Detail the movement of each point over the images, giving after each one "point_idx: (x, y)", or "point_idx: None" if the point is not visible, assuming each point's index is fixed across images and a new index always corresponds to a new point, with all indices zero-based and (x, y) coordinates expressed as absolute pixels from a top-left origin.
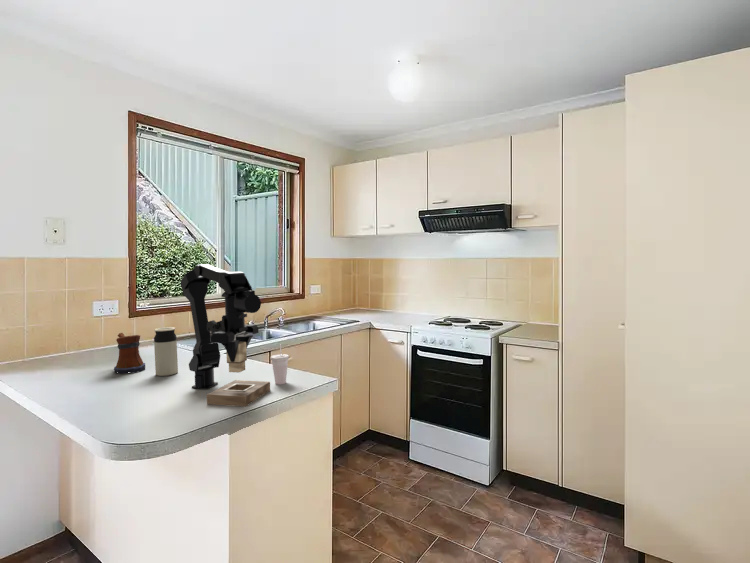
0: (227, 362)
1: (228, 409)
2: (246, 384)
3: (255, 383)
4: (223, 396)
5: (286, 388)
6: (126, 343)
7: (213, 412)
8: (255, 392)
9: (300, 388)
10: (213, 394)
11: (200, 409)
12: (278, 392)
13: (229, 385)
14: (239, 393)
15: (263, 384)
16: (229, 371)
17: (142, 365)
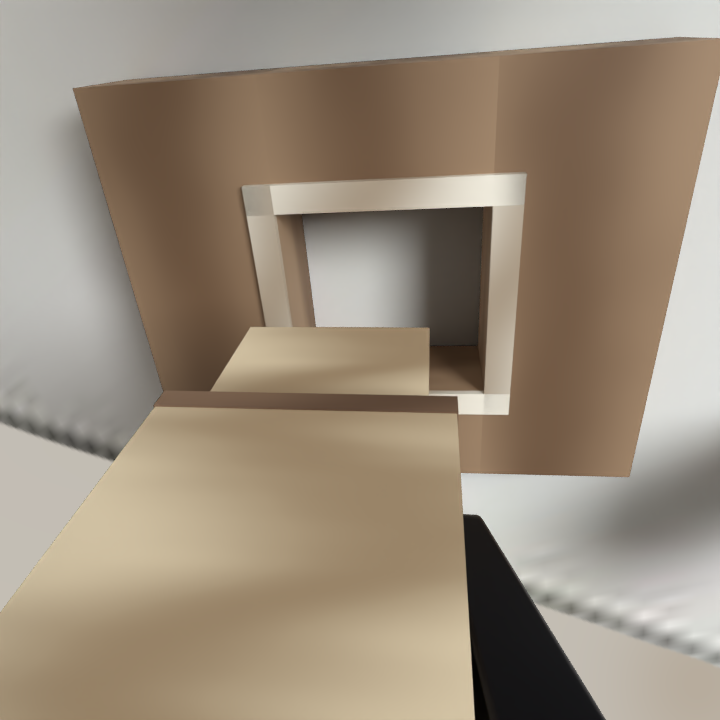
0: (164, 410)
1: (118, 342)
2: (491, 327)
3: (560, 381)
4: (136, 285)
5: (670, 509)
6: None
7: (22, 274)
8: None
9: (666, 585)
10: (106, 171)
11: (5, 119)
12: (557, 492)
13: (448, 133)
14: None
15: (529, 460)
16: (246, 339)
17: None
